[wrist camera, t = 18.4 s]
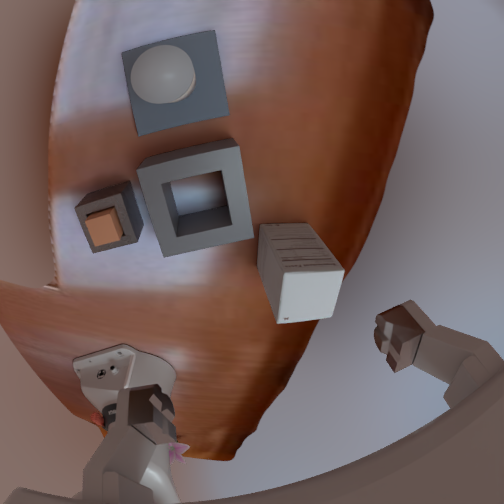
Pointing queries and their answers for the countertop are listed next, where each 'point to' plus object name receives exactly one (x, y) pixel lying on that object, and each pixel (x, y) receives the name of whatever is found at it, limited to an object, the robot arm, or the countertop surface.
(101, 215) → the plunger
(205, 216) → the housing
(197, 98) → the mat
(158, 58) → the cylinder
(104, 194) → the frame
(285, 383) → the countertop surface
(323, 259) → the supplement box
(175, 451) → the lily
